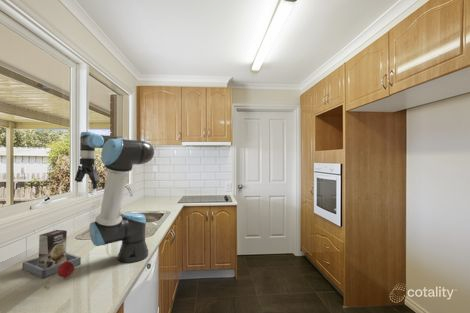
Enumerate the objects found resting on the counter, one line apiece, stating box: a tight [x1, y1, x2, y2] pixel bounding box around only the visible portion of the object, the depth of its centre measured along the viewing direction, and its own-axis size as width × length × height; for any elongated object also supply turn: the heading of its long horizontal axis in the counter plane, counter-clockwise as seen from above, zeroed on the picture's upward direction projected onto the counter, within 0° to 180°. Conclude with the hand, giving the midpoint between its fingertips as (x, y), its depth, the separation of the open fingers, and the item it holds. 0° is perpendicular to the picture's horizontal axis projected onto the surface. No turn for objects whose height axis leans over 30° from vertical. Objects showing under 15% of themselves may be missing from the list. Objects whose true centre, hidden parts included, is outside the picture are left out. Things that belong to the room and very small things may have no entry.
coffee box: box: [37, 229, 68, 269], centre depth 114 cm, size 9×6×16 cm
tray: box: [22, 252, 82, 280], centre depth 114 cm, size 18×16×4 cm
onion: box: [57, 260, 75, 279], centre depth 104 cm, size 6×6×8 cm
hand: (86, 193), depth 140 cm, fingers open, 13 cm apart
